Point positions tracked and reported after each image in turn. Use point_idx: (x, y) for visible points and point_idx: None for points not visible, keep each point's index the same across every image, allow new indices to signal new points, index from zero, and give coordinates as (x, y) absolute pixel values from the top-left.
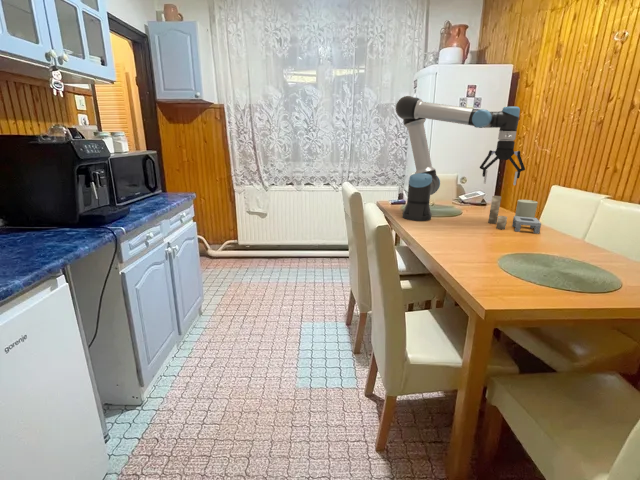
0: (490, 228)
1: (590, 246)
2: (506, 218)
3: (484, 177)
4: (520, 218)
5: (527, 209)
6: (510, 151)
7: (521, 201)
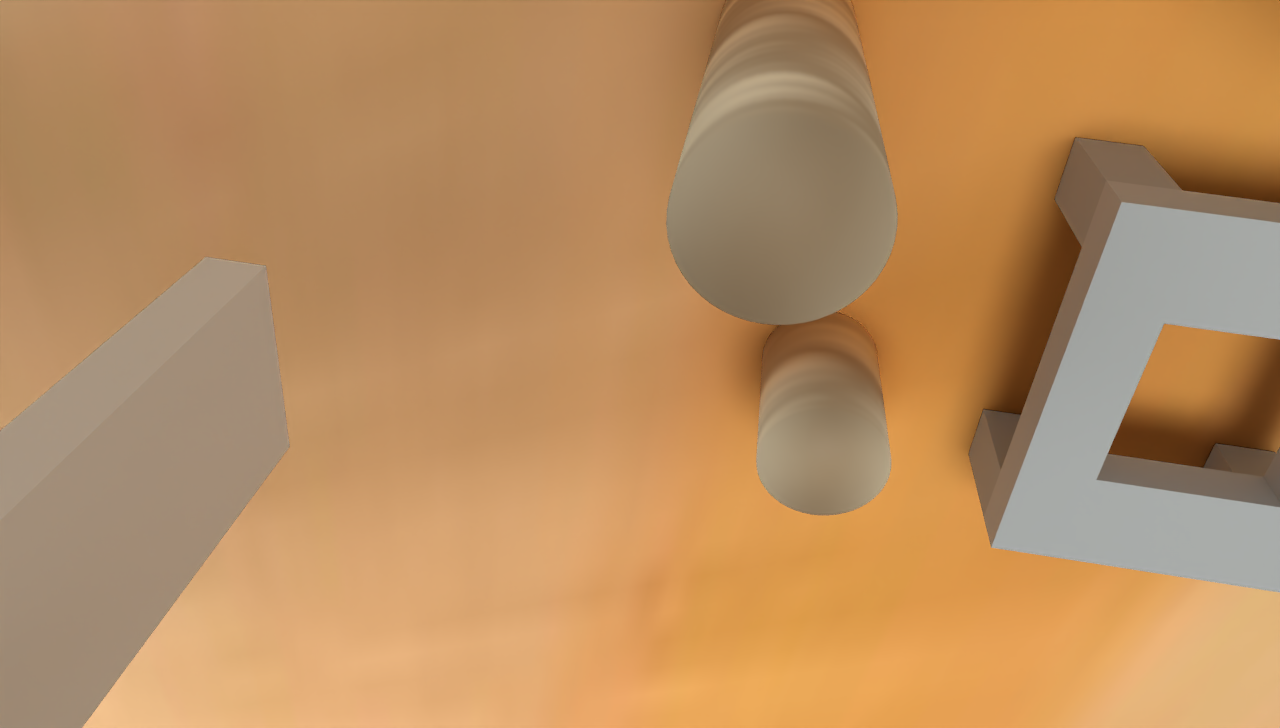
0: (681, 390)
1: None
2: (867, 493)
3: (63, 409)
4: (1174, 318)
5: None
6: None
7: None
